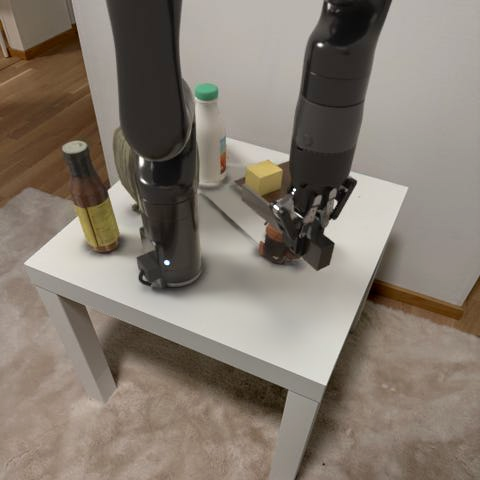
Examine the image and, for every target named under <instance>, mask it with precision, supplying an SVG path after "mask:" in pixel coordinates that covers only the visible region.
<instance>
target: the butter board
mask: <svg viewBox="0 0 480 480" xmlns="http://www.w3.org/2000/svg"><path fill="white" fill-rule="evenodd" d="M276 165H277V166H278V167H279V168H281V169H282V170H283V172H282V181H281V189H278V190H275V191H273V192H270V193H268V194H265V195H263V196H261V197H262V198H264V199H265V200H266V201H267V202H269V203H271V202H272V201H273V200H275V201H277V202H278V201H280V200H282V199H283V198H284V197H285V196H286V195H287V188H288V186H289V184H290V182H291V174H290V170H289V160H287V161H285V162H282V163H280V164H276ZM245 179H246V176H244V177H241V178H238V179H235V180H234V181H233V182H234V183H235V184H236V185H238V186H239V187H240V188H241V189H242V184H244V183H245Z"/></svg>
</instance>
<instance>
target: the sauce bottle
mask: <svg viewBox="0 0 480 480" xmlns="http://www.w3.org/2000/svg"><path fill="white" fill-rule="evenodd" d="M61 151H62V154H63V157H64V159H65V160H66V163H67V165H68V168H69V173H70V175H69V176H70V177H69V180H68V190H69V193H70V196H71V199H72V203H73V206H74V209H75V212H76V215H77V218H78V220H79V222H80V226H81V229H82V232H83V234H84V237H85V240H86V242H87V244H88V246H89V248H90V249H91V250H92V251H95V252H97V253H108V252H112V251H113V250H116V249H117V248H118V246H119V245H120V243H121V237H120V229H119V225H118V222H117V219H116V216H115V211H114V209H113V208H114V207H113V205H112V201H111V197H110V194H109V190H108V187H107V186H106V184H105V183H104V181H103V180H102V179H101V177H100V175H99V174H98V172H97V170H96V169H95V168H94V167H95V166H94V165H93V162H92V159H91V155H90V154H91V153H90V152H91V151H90V148H89V145H88V144H87V142H85V141H82V140H72V141H69V142H67V143H65V144H63V146H62V147H61Z"/></svg>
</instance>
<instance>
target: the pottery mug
mask: <svg viewBox="0 0 480 480" xmlns="http://www.w3.org/2000/svg"><path fill="white" fill-rule="evenodd" d="M263 226H266V227H265V235H264V241H263V240H260V241H259V243H258V253H259V254H260V255H261V256H263V258H265V259H267V260H269V261H271V262H273V263H275V264H282V263H283V260H284V259H285V258H286V259H287V260H288V261H290V262H291V261H292V262H293V261H294V260H295V261H296V260H299V259H302V258H301V257H298V256H297V255H295V254H294V253H293V252H292V251H291V250H290V249H289V247H288V246H287V245H286V244H285V243H284V242H283V241H282V234H281V233H279V232H278V231H277V230H276V229H275V228H274V227H272V226H271V225H270V224H269V223H268V222H266V221H265V222H264V224H263Z"/></svg>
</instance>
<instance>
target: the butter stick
mask: <svg viewBox="0 0 480 480" xmlns="http://www.w3.org/2000/svg"><path fill="white" fill-rule="evenodd" d="M277 165H278V164H276V163H274V161H271V159H265V160H263V161H259V162H256V163H253V164H252V165H251V164H250V165H249V166H246V167H245V177H246V179H245V184H246V185H248V186H249V187H250V188H251V189H253V190H254V191H255V192H256V193H258V194H259V195H260V196H263V195H265V194H268V193H270V192H273V191H275V190H278V189H281V181H282V172H283V170H282V169H281V168H279V167H278V166H277Z"/></svg>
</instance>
